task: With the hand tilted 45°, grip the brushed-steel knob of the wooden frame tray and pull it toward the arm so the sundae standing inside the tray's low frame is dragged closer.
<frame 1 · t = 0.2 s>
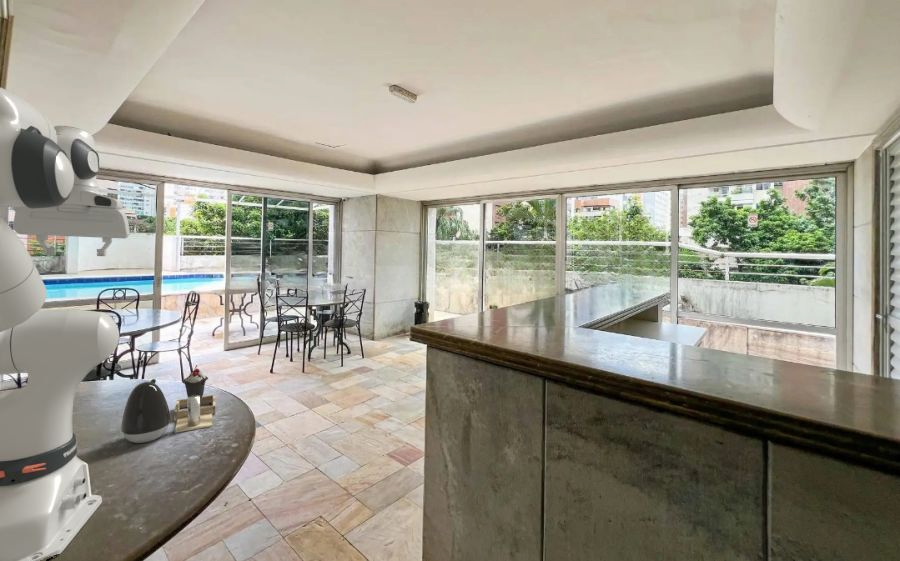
hand: (76, 255, 94), 48 cm above the table, tool pointing down, fingers open, 8 cm apart
wooden frame tray: (195, 402, 115), point 4 cm above the table, slide at 0.0 cm
sundae: (196, 411, 119), resting in wooden frame tray
pump dispenser: (147, 438, 102), on the table
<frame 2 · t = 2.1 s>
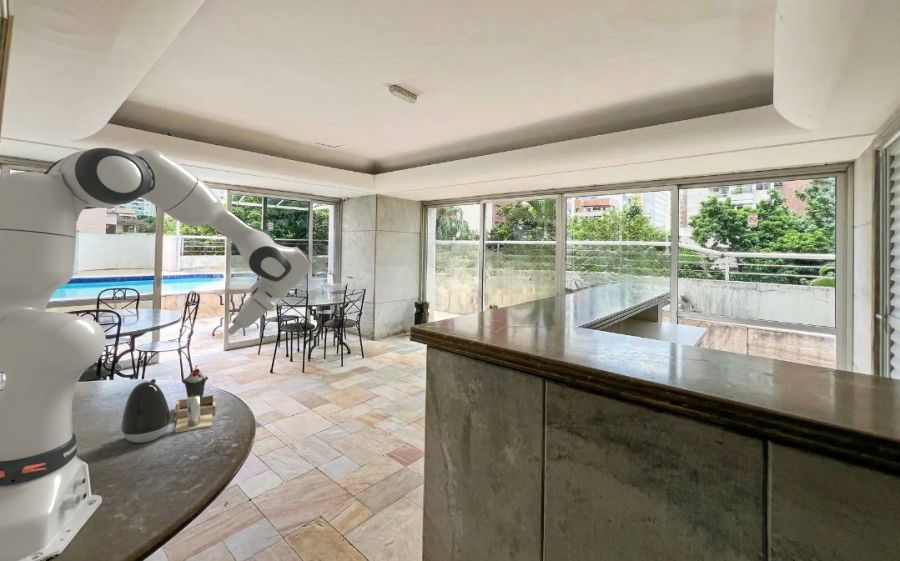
hand: (232, 327, 113), 27 cm above the table, tool tilted 45°, fingers open, 8 cm apart
nothing on the table moved.
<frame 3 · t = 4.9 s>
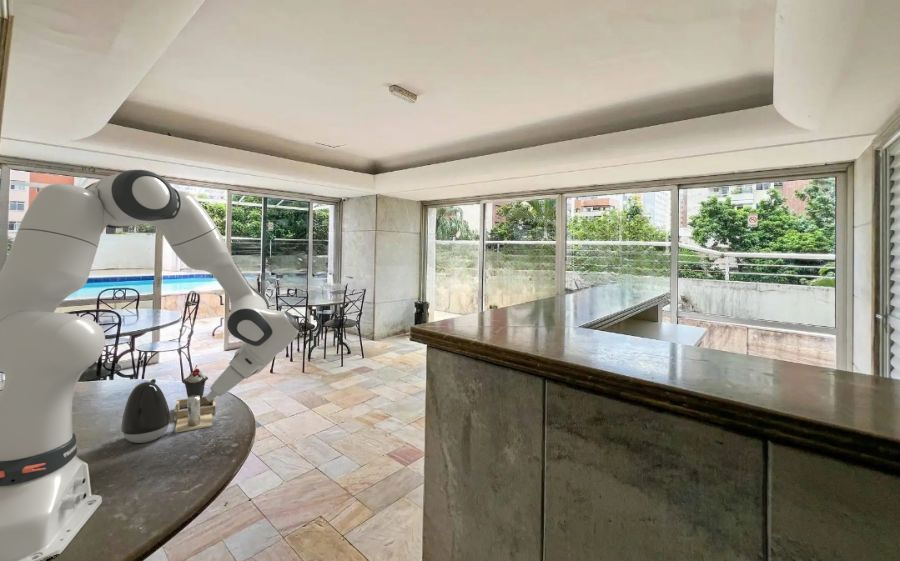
hand: (215, 392, 110), 10 cm above the table, tool tilted 45°, fingers open, 8 cm apart
nothing on the table moved.
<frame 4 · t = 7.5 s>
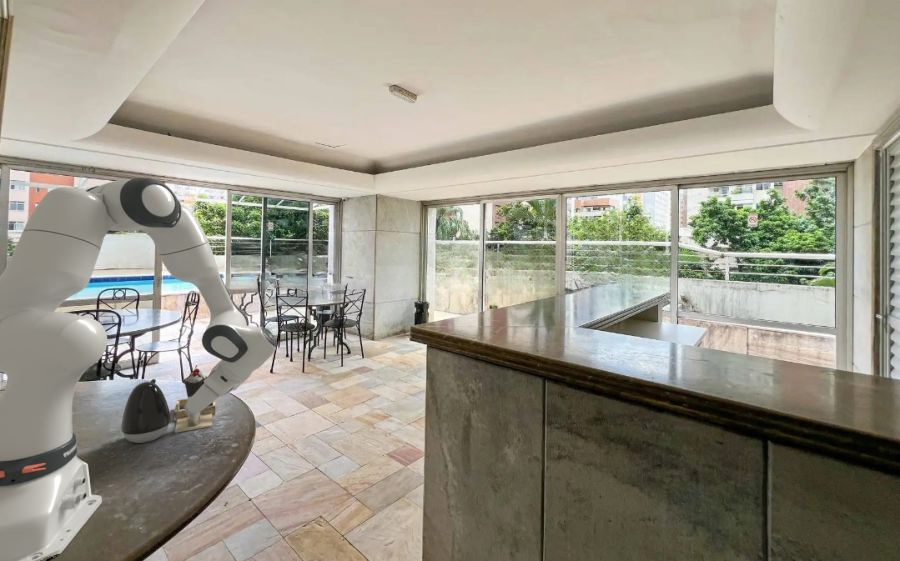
hand: (191, 409, 109), 5 cm above the table, tool tilted 45°, fingers closed on wooden frame tray, 3 cm apart
wooden frame tray: (195, 402, 115), point 4 cm above the table, slide at 0.0 cm, touching gripper
everything else where it was.
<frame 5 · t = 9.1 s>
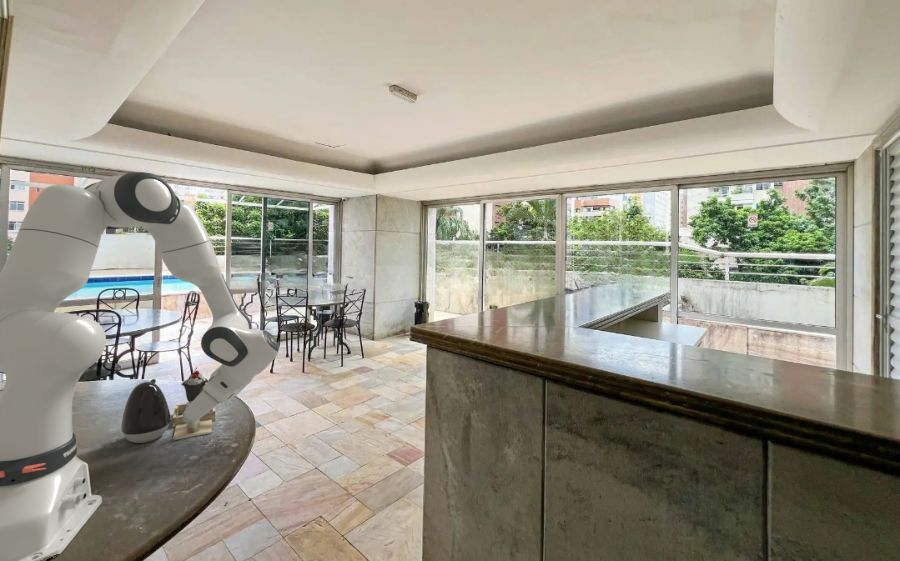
hand: (190, 416, 105), 5 cm above the table, tool tilted 45°, fingers open, 4 cm apart
wooden frame tray: (194, 408, 111), point 4 cm above the table, slide at 4.5 cm, touching gripper
sundae: (195, 414, 117), resting in wooden frame tray
everything else where it was.
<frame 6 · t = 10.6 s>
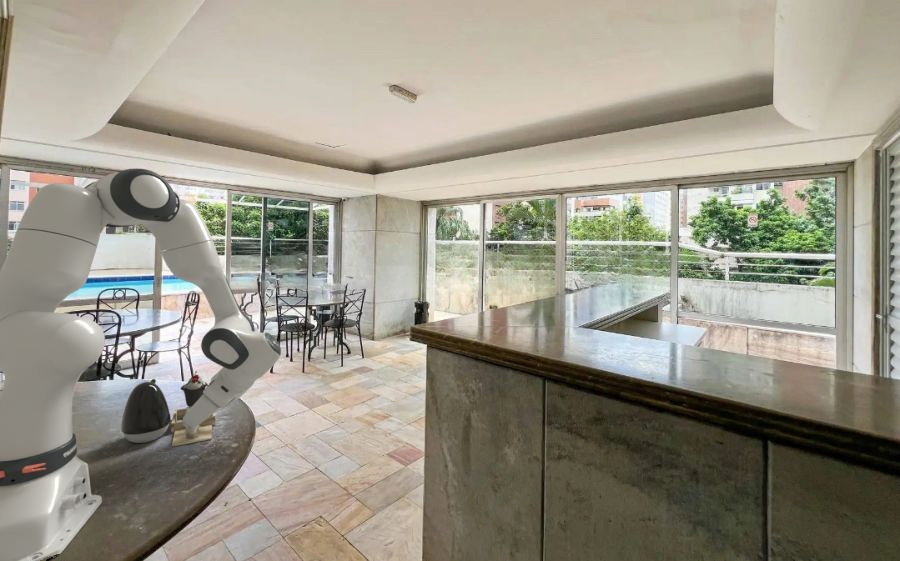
hand: (190, 421, 102), 5 cm above the table, tool tilted 45°, fingers closed on wooden frame tray, 3 cm apart
wooden frame tray: (193, 413, 108), point 4 cm above the table, slide at 8.3 cm, touching gripper, sundae
sundae: (195, 419, 114), resting in wooden frame tray
everything else where it was.
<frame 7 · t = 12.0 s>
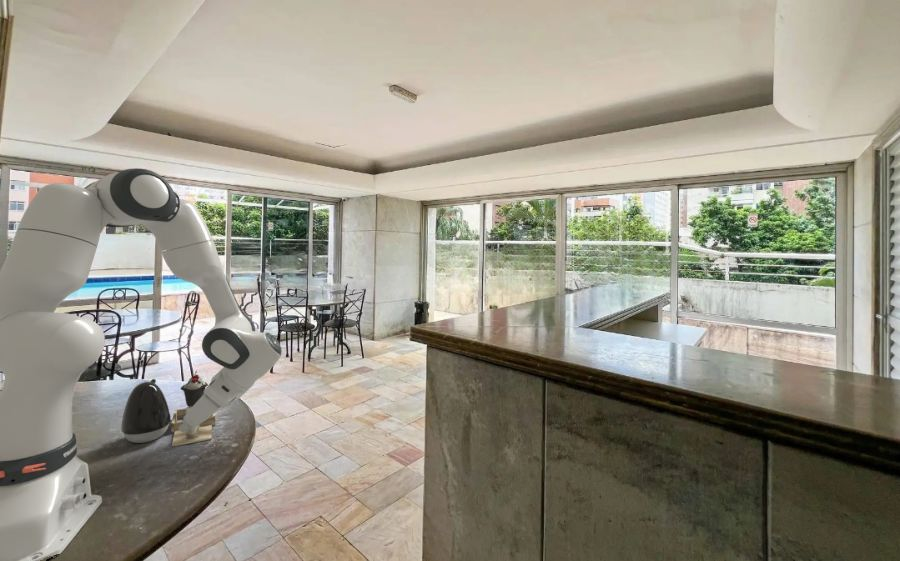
hand: (190, 421, 102), 5 cm above the table, tool tilted 45°, fingers open, 8 cm apart
wooden frame tray: (193, 413, 108), point 4 cm above the table, slide at 8.3 cm
sundae: (195, 419, 114), resting in wooden frame tray
everything else where it was.
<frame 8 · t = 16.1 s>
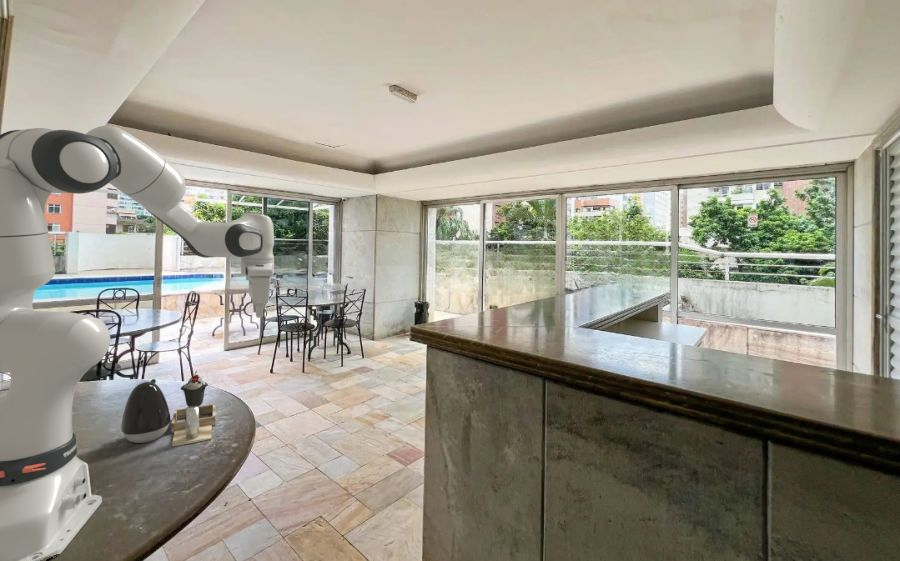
hand: (258, 314, 115), 31 cm above the table, tool pointing down, fingers open, 8 cm apart
nothing on the table moved.
at the end: wooden frame tray slide at 8.3 cm; sundae inside the target area (1.3 cm from its centre), resting in wooden frame tray; sundae tilted 0° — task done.
